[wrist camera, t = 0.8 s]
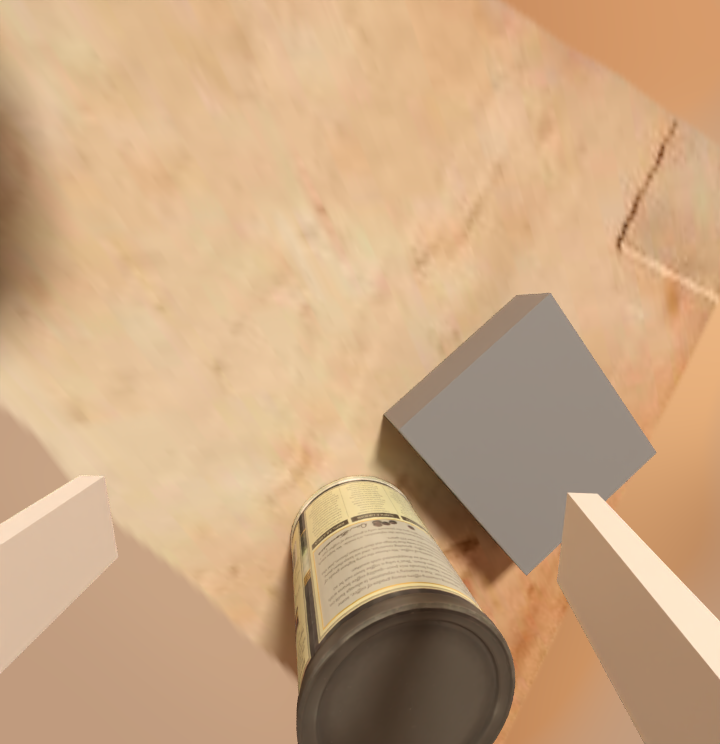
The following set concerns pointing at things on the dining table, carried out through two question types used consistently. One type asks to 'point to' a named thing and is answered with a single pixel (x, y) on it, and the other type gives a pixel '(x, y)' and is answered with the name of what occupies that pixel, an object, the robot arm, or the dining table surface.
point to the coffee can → (388, 628)
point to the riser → (522, 426)
